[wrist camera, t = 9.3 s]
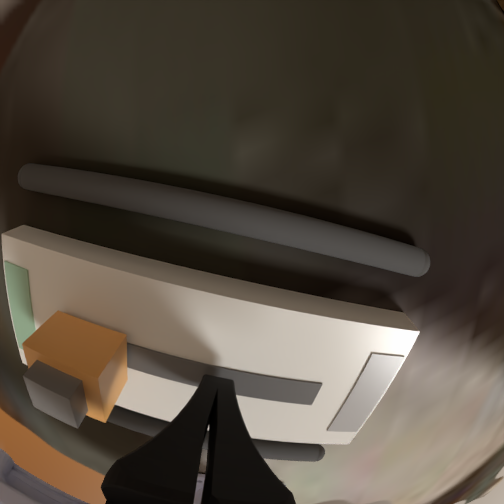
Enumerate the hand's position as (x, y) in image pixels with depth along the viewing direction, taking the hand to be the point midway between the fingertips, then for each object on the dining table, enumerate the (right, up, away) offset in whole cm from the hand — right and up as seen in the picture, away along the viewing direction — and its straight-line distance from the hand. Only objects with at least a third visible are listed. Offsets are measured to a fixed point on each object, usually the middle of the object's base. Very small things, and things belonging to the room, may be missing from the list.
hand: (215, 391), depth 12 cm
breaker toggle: (-6, +2, +1) cm, 7 cm away
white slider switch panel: (-2, +1, +3) cm, 4 cm away
